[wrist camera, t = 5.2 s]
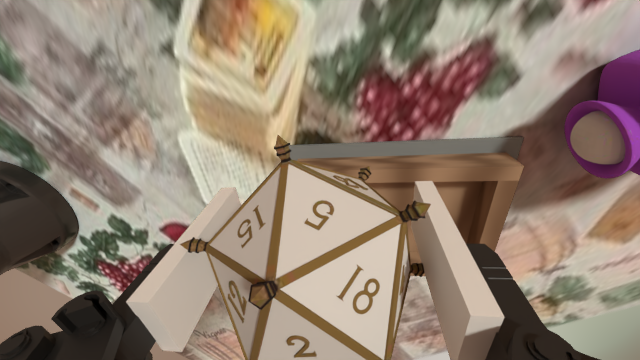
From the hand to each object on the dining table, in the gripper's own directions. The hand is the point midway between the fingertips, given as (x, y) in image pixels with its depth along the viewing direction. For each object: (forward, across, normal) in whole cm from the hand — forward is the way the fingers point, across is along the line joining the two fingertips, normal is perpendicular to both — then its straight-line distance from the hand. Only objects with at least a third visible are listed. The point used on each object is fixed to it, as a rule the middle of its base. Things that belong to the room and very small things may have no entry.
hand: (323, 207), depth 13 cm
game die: (+1, 0, 0) cm, 1 cm away
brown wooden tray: (+16, +6, -12) cm, 20 cm away
